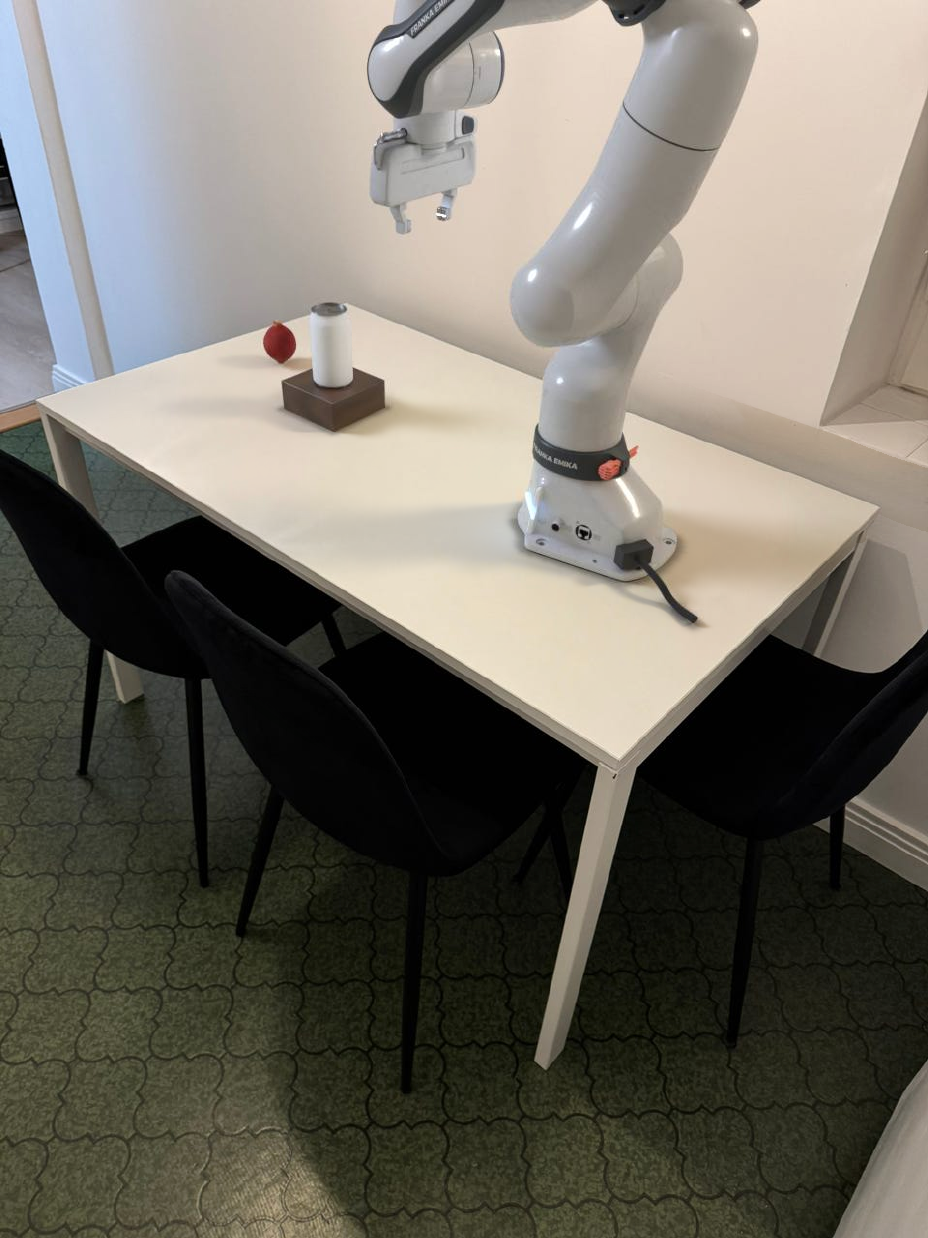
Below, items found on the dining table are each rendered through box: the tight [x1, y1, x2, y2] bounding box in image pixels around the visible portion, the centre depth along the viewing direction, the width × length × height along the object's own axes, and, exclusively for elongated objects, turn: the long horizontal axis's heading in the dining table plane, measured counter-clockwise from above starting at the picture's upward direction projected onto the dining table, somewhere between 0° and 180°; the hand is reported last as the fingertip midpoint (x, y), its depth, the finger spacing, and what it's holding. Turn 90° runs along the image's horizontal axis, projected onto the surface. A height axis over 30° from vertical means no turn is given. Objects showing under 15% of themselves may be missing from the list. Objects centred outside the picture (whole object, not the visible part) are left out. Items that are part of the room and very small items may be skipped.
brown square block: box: [281, 367, 386, 433], centre depth 151 cm, size 12×12×5 cm
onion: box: [262, 319, 297, 364], centre depth 163 cm, size 6×6×8 cm
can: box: [308, 301, 354, 388], centre depth 145 cm, size 6×6×12 cm
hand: (424, 226), depth 137 cm, fingers open, 8 cm apart
